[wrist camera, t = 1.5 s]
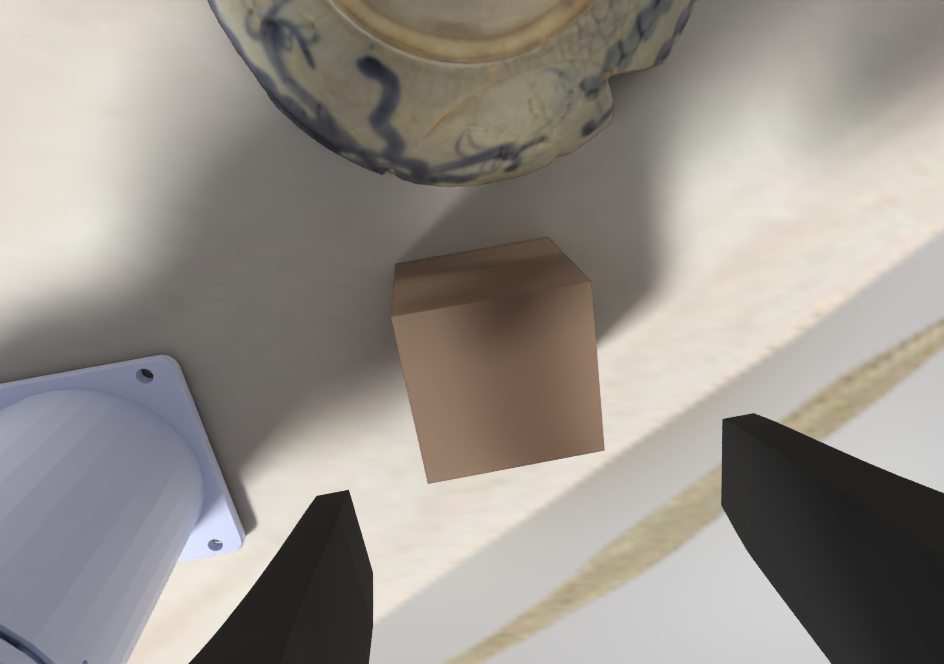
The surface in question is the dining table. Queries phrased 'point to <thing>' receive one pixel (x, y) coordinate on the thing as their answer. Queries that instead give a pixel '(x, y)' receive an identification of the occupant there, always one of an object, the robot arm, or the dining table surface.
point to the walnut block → (498, 358)
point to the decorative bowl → (449, 76)
